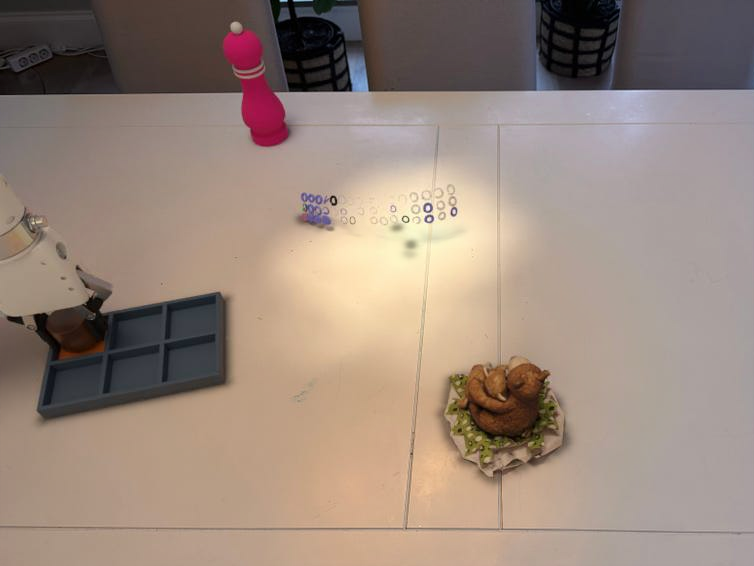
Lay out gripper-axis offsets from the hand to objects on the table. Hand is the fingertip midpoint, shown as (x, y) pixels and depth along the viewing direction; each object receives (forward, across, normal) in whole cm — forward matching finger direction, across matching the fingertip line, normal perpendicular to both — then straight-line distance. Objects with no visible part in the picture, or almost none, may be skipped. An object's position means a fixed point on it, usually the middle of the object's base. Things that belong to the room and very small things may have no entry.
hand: (79, 336), depth 89 cm
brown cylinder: (0, 0, 0) cm, 0 cm away
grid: (+2, -7, +4) cm, 8 cm away
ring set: (+2, -41, -13) cm, 43 cm away
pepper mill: (+2, -26, -42) cm, 50 cm away
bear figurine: (+2, -51, +25) cm, 57 cm away
